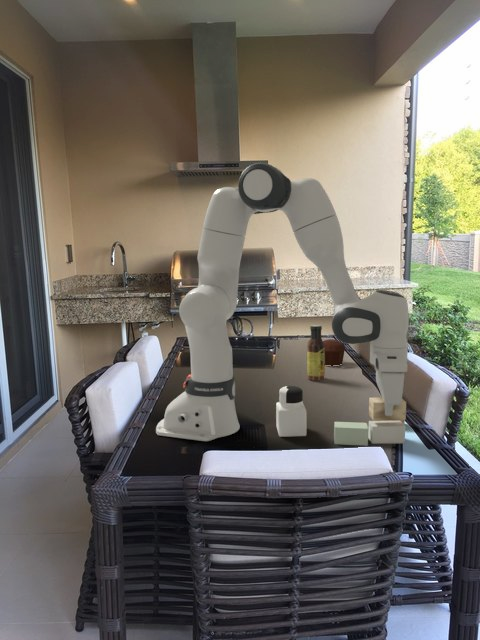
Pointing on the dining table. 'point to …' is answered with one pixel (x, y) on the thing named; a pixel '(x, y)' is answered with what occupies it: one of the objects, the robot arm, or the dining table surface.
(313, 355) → the sauce bottle
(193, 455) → the dining table surface
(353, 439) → the sage block
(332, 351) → the muffin
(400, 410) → the maple block
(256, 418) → the dining table surface
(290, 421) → the medicine bottle
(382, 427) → the grey block
